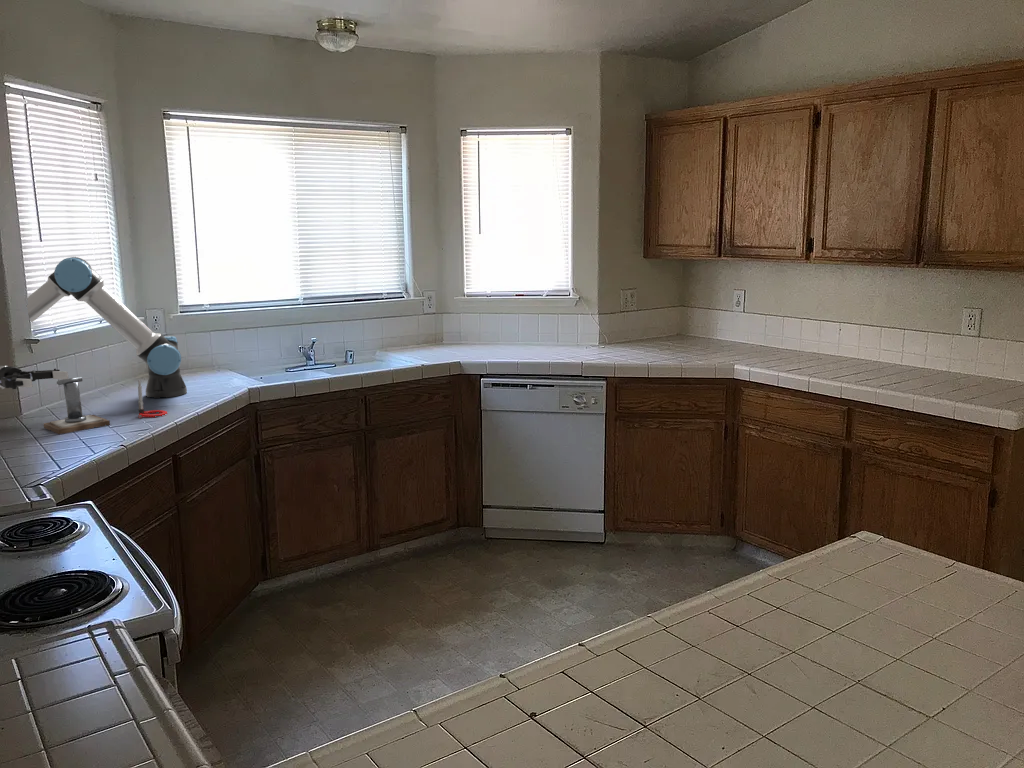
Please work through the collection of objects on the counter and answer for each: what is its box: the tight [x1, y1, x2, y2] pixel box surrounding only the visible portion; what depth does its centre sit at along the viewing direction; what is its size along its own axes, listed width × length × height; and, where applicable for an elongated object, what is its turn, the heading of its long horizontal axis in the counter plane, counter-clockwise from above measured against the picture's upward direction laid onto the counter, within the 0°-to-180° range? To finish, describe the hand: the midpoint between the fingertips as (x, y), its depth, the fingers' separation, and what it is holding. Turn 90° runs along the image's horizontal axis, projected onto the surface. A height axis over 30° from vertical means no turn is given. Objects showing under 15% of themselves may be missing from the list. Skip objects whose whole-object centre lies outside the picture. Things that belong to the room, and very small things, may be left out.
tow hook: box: [137, 379, 168, 419], centre depth 292 cm, size 8×13×9 cm
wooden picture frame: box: [42, 414, 111, 435], centre depth 278 cm, size 16×14×2 cm
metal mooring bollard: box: [56, 376, 86, 423], centre depth 276 cm, size 8×6×14 cm
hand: (49, 379), depth 279 cm, fingers open, 13 cm apart
